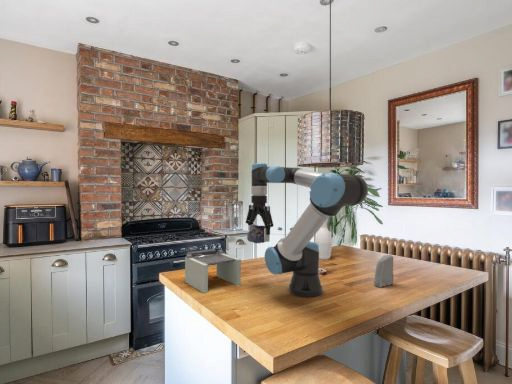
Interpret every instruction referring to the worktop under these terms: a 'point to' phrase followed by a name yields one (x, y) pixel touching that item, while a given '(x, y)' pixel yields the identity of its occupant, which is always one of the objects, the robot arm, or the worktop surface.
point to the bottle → (324, 242)
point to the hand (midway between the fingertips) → (258, 239)
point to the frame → (199, 272)
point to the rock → (256, 234)
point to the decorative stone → (384, 271)
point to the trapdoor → (210, 257)
